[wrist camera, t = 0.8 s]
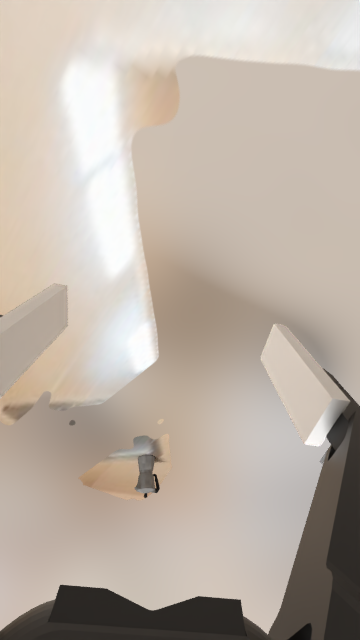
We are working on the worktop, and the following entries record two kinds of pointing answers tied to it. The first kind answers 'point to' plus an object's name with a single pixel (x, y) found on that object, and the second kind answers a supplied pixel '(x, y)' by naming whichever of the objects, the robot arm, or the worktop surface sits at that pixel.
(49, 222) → the worktop surface
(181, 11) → the worktop surface
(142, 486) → the coffeepot
